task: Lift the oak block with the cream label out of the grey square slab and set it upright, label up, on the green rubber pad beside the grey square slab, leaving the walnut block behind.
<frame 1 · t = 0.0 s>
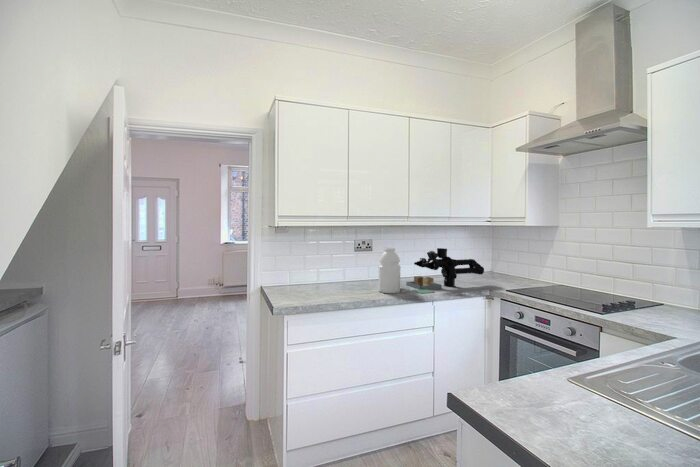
hand: (417, 264, 223), 17 cm above the countertop, tool horizontal, fingers open, 9 cm apart
oak block: (428, 288, 223), point 1 cm above the countertop, touching grey square slab
bottle: (389, 291, 215), on the countertop
grey square slab: (423, 287, 229), on the countertop
walnut block: (419, 285, 234), point 1 cm above the countertop, touching grey square slab
green pad: (423, 292, 212), on the countertop
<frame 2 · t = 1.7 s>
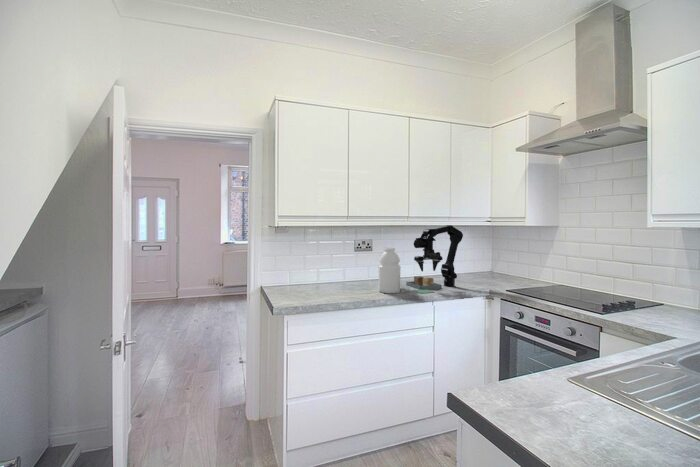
hand: (428, 271, 223), 12 cm above the countertop, tool pointing down, fingers open, 9 cm apart
nothing on the countertop moved.
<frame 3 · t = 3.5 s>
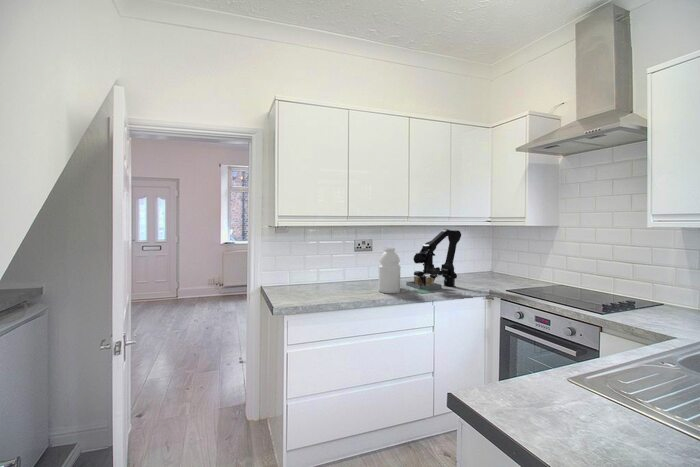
hand: (428, 286, 223), 2 cm above the countertop, tool pointing down, fingers closed on oak block, 5 cm apart
oak block: (428, 288, 223), point 1 cm above the countertop, touching grey square slab, gripper
everything else where it was.
when the fingers open (4 cm above the countertop, at t = 8.1 s): oak block drops 2 cm, resting on green pad.
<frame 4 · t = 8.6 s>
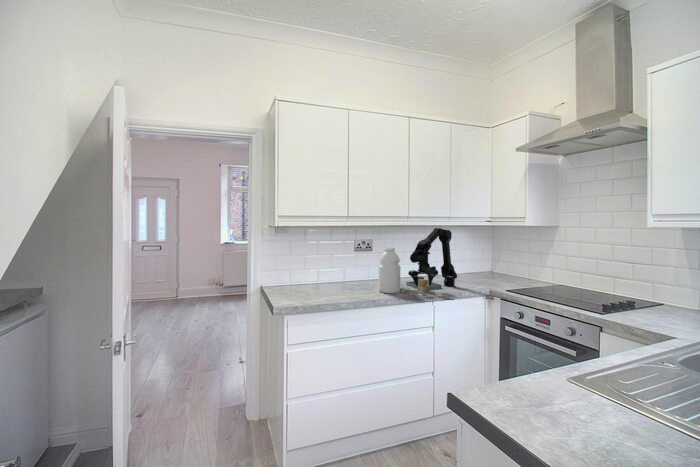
hand: (423, 286, 212), 4 cm above the countertop, tool pointing down, fingers open, 9 cm apart
oak block: (423, 291, 212), point 1 cm above the countertop, touching green pad
everything else where it was.
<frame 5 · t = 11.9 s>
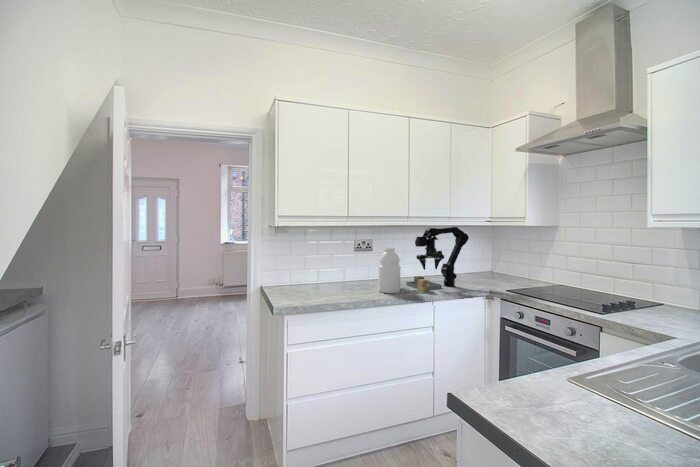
hand: (430, 269, 228), 13 cm above the countertop, tool pointing down, fingers open, 9 cm apart
nothing on the countertop moved.
at the end: oak block inside the target area (0.1 cm from its centre), point 1.0 cm above the countertop; oak block tilted 0°; the gripper is holding nothing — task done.
